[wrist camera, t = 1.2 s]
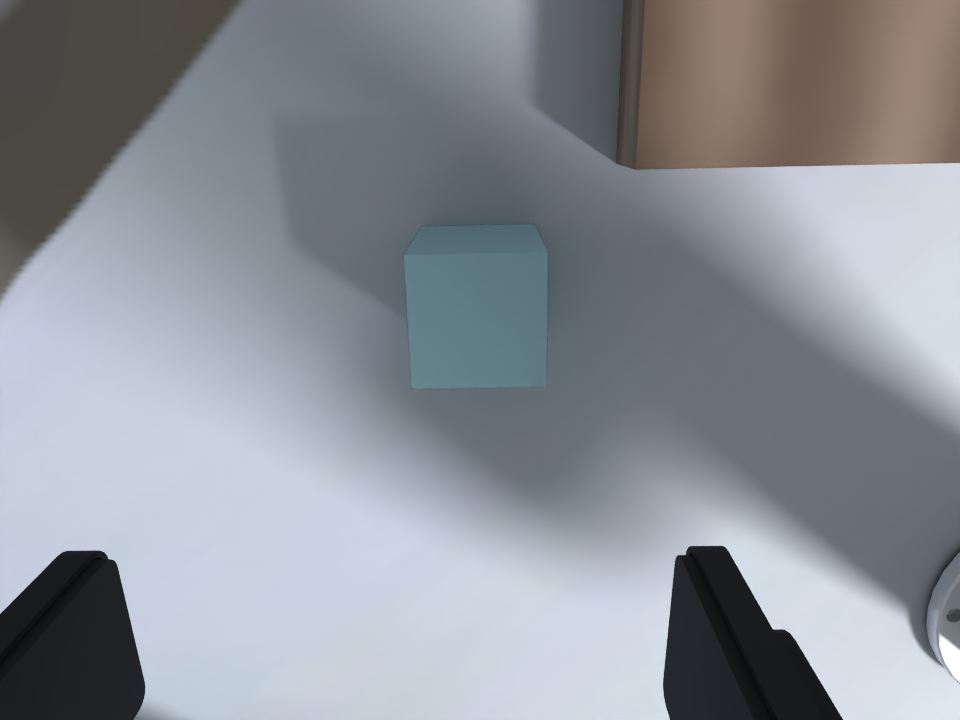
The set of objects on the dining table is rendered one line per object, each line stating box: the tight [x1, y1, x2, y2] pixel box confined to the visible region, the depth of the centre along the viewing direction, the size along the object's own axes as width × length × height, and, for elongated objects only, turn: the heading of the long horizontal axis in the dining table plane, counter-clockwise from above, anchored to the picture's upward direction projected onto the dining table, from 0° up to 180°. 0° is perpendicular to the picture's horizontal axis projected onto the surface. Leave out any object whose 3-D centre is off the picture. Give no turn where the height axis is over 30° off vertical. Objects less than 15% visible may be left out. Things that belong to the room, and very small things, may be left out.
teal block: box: [404, 224, 548, 389], centre depth 27 cm, size 5×5×7 cm
